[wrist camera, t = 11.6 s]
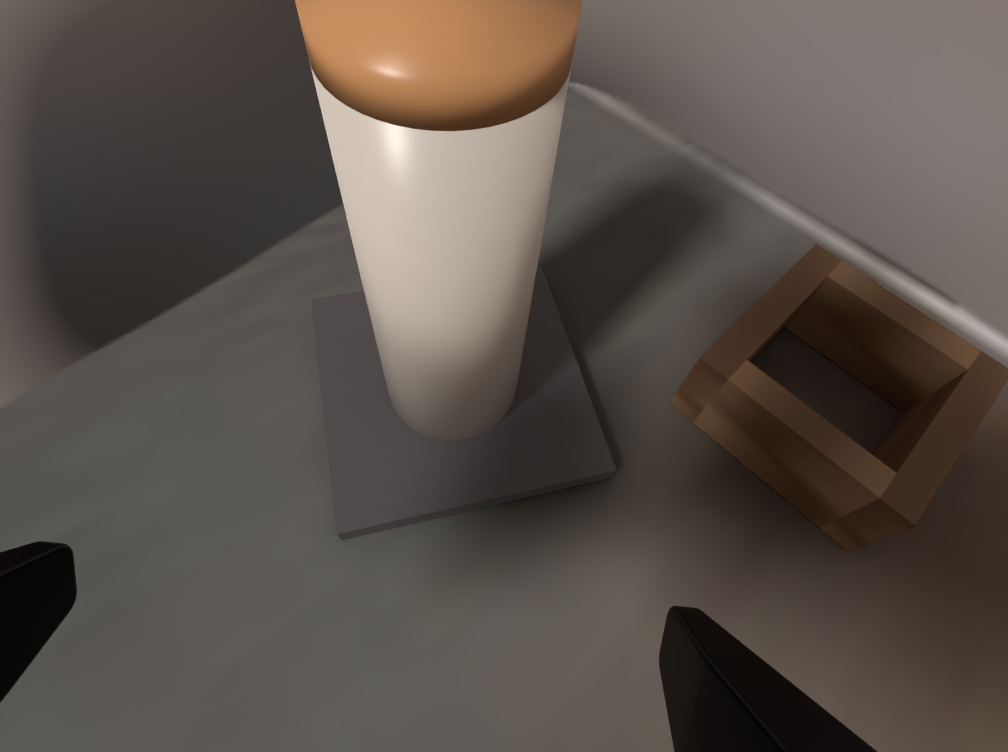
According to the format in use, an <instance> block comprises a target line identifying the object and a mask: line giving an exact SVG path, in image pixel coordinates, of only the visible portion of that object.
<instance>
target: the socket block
mask: <svg viewBox="0 0 1008 752" xmlns="http://www.w3.org/2000/svg"><path fill="white" fill-rule="evenodd" d="M784 327H785V328H786V329H788V330H789V331H791V332H792V333H793V334H795V335H796V336H797V337H799V338H800V339H802V340H803V341H804V342H806V343H807V344H809V345H810V346H811V347H813V348H814V349H816V350H817V351H818V352H820V353H821V354H823V355H824V356H825V357H827V358H828V359H830V360H831V361H832V362H834V363H835V364H836V365H838V366H839V367H841V368H842V369H843V370H845V371H846V372H848V373H849V374H850V375H852V376H853V377H855V378H856V379H857V380H859V381H860V382H862V383H863V384H864V385H866V386H867V387H869V388H870V389H871V390H873V391H874V392H876V393H877V394H878V395H880V396H881V397H882V398H884V399H885V400H887V401H888V402H889V403H891V404H892V405H894V406H895V407H896V408H898V409H899V410H901V411H902V412H903V414H902V415H901V417H900V418H899V419H898V421H897V422H896V424H895V425H894V426H893V428H892V429H891V430H890V432H889V433H888V435H887V436H886V437H885V439H884V440H883V441H882V443H881V444H880V446H879V447H878V448H877V450H876V451H875V452H874V454H873V455H872V454H871V453H869V452H868V451H867V450H865V449H864V448H863V447H861V446H860V445H859V444H858V443H856V442H855V441H854V440H852V439H851V438H850V437H848V436H847V435H846V434H844V433H843V432H842V431H840V430H839V429H838V428H836V427H835V426H834V425H832V424H831V423H830V422H829V421H827V420H826V419H825V418H823V417H822V416H821V415H819V414H818V413H817V412H815V411H814V410H813V409H811V408H810V407H809V406H807V405H806V404H805V403H803V402H802V401H801V400H799V399H798V398H797V397H796V396H794V395H793V394H792V393H790V392H789V391H788V390H786V389H785V388H784V387H782V386H781V385H780V384H778V383H777V382H776V381H774V380H773V379H772V378H770V377H769V376H768V375H766V374H765V373H764V372H763V371H761V370H760V369H759V368H757V367H756V366H755V365H753V364H752V363H751V361H752V360H753V359H754V358H755V357H756V356H757V355H758V354H759V353H760V352H761V351H762V350H763V349H764V348H765V347H766V346H767V345H768V344H769V342H770V341H771V340H772V339H773V338H774V337H775V336H776V335H777V334H778V333H779V332H780V331H781V330H782V329H783V328H784ZM1007 380H1008V368H1006V367H1005V366H1003V365H1002V364H1000V363H999V362H997V361H996V360H994V359H993V358H991V357H989V356H988V355H986V354H985V353H983V352H982V351H980V350H979V349H977V348H976V347H974V346H973V345H971V344H969V343H968V342H966V341H965V340H963V339H962V338H960V337H959V336H957V335H956V334H954V333H952V332H951V331H949V330H948V329H946V328H945V327H943V326H942V325H940V324H939V323H937V322H936V321H934V320H932V319H931V318H929V317H928V316H926V315H925V314H923V313H922V312H920V311H919V310H917V309H915V308H914V307H912V306H911V305H909V304H908V303H906V302H905V301H903V300H902V299H900V298H899V297H897V296H895V295H894V294H892V293H891V292H889V291H888V290H886V289H885V288H883V287H882V286H880V285H879V284H877V283H875V282H874V281H872V280H871V279H869V278H868V277H866V276H865V275H863V274H862V273H860V272H858V271H857V270H855V269H854V268H852V267H851V266H849V265H848V264H846V263H845V262H843V261H842V260H840V259H838V258H837V257H835V256H834V255H832V254H831V253H829V252H828V251H826V250H825V249H823V248H821V247H820V246H818V245H817V244H816V245H815V246H814V247H813V248H812V249H811V250H810V251H809V252H808V253H807V254H806V255H804V256H803V257H802V258H801V259H800V260H799V261H798V262H797V263H796V264H795V265H794V266H793V267H792V268H791V269H790V270H789V271H788V272H787V273H786V274H785V275H784V276H783V277H782V278H781V279H780V280H779V281H778V282H777V283H776V284H775V285H774V286H773V287H772V288H771V289H770V290H769V291H768V292H767V293H766V294H765V295H764V296H763V297H762V298H761V299H760V300H759V301H758V302H757V303H755V304H754V305H753V306H752V307H751V308H750V309H749V310H748V311H747V312H746V313H745V314H744V315H743V316H742V317H741V318H740V319H739V320H738V321H737V322H736V323H735V324H734V325H733V326H732V327H731V328H730V329H729V330H728V331H727V332H726V333H725V334H724V335H723V336H722V337H721V338H720V339H719V340H718V341H717V342H716V343H715V344H714V345H713V346H712V347H711V348H710V349H709V350H708V351H706V352H705V353H704V354H703V355H702V356H701V357H700V359H699V360H698V362H697V363H696V365H695V366H694V367H693V369H692V370H691V372H690V373H689V375H688V376H687V378H686V379H685V381H684V382H683V384H682V385H681V387H680V388H679V389H678V391H677V392H676V394H675V395H674V397H673V398H672V400H671V401H670V404H671V405H672V406H673V407H675V408H676V409H677V410H678V411H679V412H681V413H682V414H683V415H684V416H686V417H687V418H688V419H689V420H690V421H692V422H693V423H694V424H695V425H696V426H698V427H699V428H700V429H701V430H702V431H704V432H705V433H706V434H707V435H708V436H710V437H711V438H712V439H713V440H714V441H716V442H717V443H718V444H719V445H720V446H722V447H723V448H724V449H725V450H726V451H728V452H729V453H730V454H731V455H732V456H734V457H735V458H736V459H737V460H738V461H740V462H741V463H742V464H743V465H744V466H746V467H747V468H748V469H749V470H750V471H752V472H753V473H754V474H755V475H756V476H758V477H759V478H760V479H761V480H762V481H764V482H765V483H766V484H767V485H769V486H770V487H771V488H772V489H773V490H775V491H776V492H777V493H778V494H779V495H781V496H782V497H783V498H784V499H785V500H787V501H788V502H789V503H790V504H791V505H793V506H794V507H795V508H796V509H797V510H799V511H800V512H801V513H802V514H803V515H805V516H806V517H807V518H808V519H809V520H811V521H812V522H813V523H814V524H815V525H817V526H818V527H819V528H820V529H821V530H823V531H824V532H825V533H826V534H827V535H829V536H830V537H831V538H832V539H833V540H835V541H836V542H837V543H838V544H839V545H841V546H842V547H843V548H844V549H845V550H847V551H848V552H850V551H853V550H855V549H858V548H860V547H863V546H865V545H868V544H870V543H873V542H875V541H878V540H880V539H883V538H885V537H888V536H890V535H893V534H895V533H898V532H900V531H903V530H905V529H908V528H910V527H913V526H915V525H916V524H917V522H918V520H919V519H920V517H921V516H922V514H923V513H924V511H925V509H926V508H927V506H928V505H929V503H930V501H931V500H932V498H933V497H934V495H935V494H936V492H937V490H938V489H939V487H940V486H941V484H942V483H943V481H944V479H945V478H946V476H947V475H948V473H949V472H950V470H951V468H952V467H953V465H954V464H955V462H956V460H957V459H958V457H959V456H960V454H961V453H962V451H963V449H964V448H965V446H966V445H967V443H968V442H969V440H970V438H971V437H972V435H973V434H974V432H975V431H976V429H977V427H978V426H979V424H980V423H981V421H982V419H983V418H984V416H985V415H986V413H987V412H988V410H989V408H990V407H991V405H992V404H993V402H994V401H995V399H996V397H997V396H998V394H999V393H1000V391H1001V390H1002V388H1003V386H1004V385H1005V383H1006V382H1007Z"/></svg>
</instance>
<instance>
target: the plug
mask: <svg viewBox="0 0 1008 752" xmlns="http://www.w3.org/2000/svg"><path fill="white" fill-rule="evenodd" d="M295 2H296V6H297V10H298V14H299V18H300V23H301V27H302V31H303V35H304V40H305V44H306V48H307V52H308V57H309V60H310V65H311V69H312V73H313V78H314V82H315V86H316V90H317V94H318V99H319V103H320V107H321V111H322V115H323V119H324V124H325V128H326V132H327V136H328V141H329V145H330V149H331V153H332V157H333V162H334V166H335V170H336V175H337V178H338V183H339V187H340V191H341V196H342V199H343V204H344V208H345V212H346V217H347V221H348V225H349V229H350V233H351V238H352V242H353V246H354V250H355V255H356V259H357V263H358V267H359V271H360V276H361V280H362V284H363V288H364V292H365V297H366V301H367V305H368V309H369V314H370V318H371V322H372V326H373V330H374V335H375V339H376V343H377V347H378V351H379V356H380V360H381V364H382V368H383V373H384V377H385V381H386V385H387V389H388V394H389V397H390V401H391V403H392V406H393V408H394V409H395V411H396V413H397V414H398V415H399V417H400V418H401V419H402V420H403V421H404V422H405V423H406V424H407V425H408V426H410V427H411V428H413V429H414V430H416V431H418V432H420V433H422V434H424V435H427V436H430V437H433V438H438V439H446V440H458V439H465V438H470V437H473V436H476V435H479V434H481V433H483V432H485V431H487V430H489V429H491V428H492V427H493V426H495V425H496V424H497V423H498V422H499V421H500V420H501V419H502V418H503V417H504V416H505V415H506V413H507V412H508V410H509V409H510V407H511V405H512V403H513V400H514V397H515V393H516V388H517V382H518V376H519V370H520V365H521V359H522V353H523V347H524V341H525V335H526V329H527V323H528V318H529V312H530V306H531V300H532V294H533V288H534V282H535V277H536V271H537V265H538V259H539V253H540V247H541V241H542V235H543V230H544V224H545V218H546V212H547V206H548V200H549V194H550V188H551V183H552V177H553V171H554V165H555V159H556V153H557V147H558V141H559V136H560V130H561V124H562V118H563V112H564V106H565V100H566V94H567V89H568V83H569V77H570V71H571V65H572V59H573V53H574V47H575V42H576V35H577V29H578V24H579V18H580V12H581V0H295Z"/></svg>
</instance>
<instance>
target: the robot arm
mask: <svg viewBox="0 0 1008 752" xmlns="http://www.w3.org/2000/svg"><path fill="white" fill-rule="evenodd" d="M76 595H77V587H76V577H75V566H74V556H73V551H72V549H71V548H70V546H68V545H66V544H63V543H53V542H44V541H40V542H34V543H30V544H27V545H24V546H20V547H17V548H14V549H10V550H7V551H4V552H0V702H1V701H2V700H3V699H4V697H5V696H6V695H7V694H8V692H9V691H10V690H11V688H12V687H13V686H14V685H15V683H16V682H17V681H18V679H19V678H20V677H21V675H22V674H23V673H24V671H25V670H26V669H27V667H28V666H29V665H30V663H31V662H32V661H33V659H34V658H35V657H36V655H37V654H38V653H39V651H40V650H41V649H42V647H43V646H44V645H45V643H46V642H47V641H48V639H49V638H50V637H51V636H52V634H53V633H54V632H55V630H56V629H57V628H58V626H59V625H60V624H61V622H62V621H63V620H64V618H65V617H66V616H67V614H68V613H69V612H70V610H71V609H72V607H73V605H74V602H75V599H76ZM659 666H660V673H661V679H662V684H663V690H664V696H665V701H666V707H667V713H668V718H669V724H670V729H671V735H672V741H673V746H674V752H877V751H876V750H875V749H873V748H872V747H871V746H870V745H868V744H867V743H866V742H865V741H863V740H862V739H861V738H860V737H858V736H857V735H856V734H855V733H853V732H852V731H851V730H850V729H848V728H847V727H846V726H845V725H843V724H842V723H841V722H840V721H838V720H837V719H836V718H835V717H833V716H832V715H831V714H830V713H828V712H827V711H826V710H825V709H823V708H822V707H821V706H820V705H818V704H817V703H816V702H815V701H813V700H812V699H811V698H810V697H808V696H807V695H806V694H805V693H803V692H802V691H801V690H800V689H798V688H797V687H796V686H795V685H793V684H792V683H791V682H790V681H788V680H787V679H786V678H785V677H783V676H782V675H781V674H780V673H778V672H777V671H776V670H775V669H773V668H772V667H771V666H770V665H768V664H767V663H766V662H765V661H764V660H762V659H761V658H760V657H759V656H757V655H756V654H755V653H754V652H752V651H751V650H750V649H749V648H747V647H746V646H745V645H744V644H742V643H741V642H740V641H739V640H737V639H736V638H735V637H734V636H732V635H731V634H730V633H729V632H727V631H726V630H725V629H724V628H722V627H721V626H720V625H719V624H717V623H716V622H715V621H714V620H712V619H711V618H710V617H709V616H707V615H706V614H705V613H704V612H702V611H701V610H700V609H697V608H692V607H681V606H673V607H671V608H670V609H669V611H668V614H667V618H666V623H665V628H664V633H663V638H662V643H661V647H660V653H659Z"/></svg>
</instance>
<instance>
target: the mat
mask: <svg viewBox="0 0 1008 752" xmlns="http://www.w3.org/2000/svg"><path fill="white" fill-rule="evenodd" d="M312 308H313V317H314V326H315V335H316V344H317V354H318V363H319V372H320V381H321V390H322V399H323V409H324V418H325V427H326V436H327V445H328V454H329V463H330V473H331V482H332V491H333V500H334V509H335V518H336V528H337V534H338V536H339V537H340V538H341V540H344V539H348V538H353V537H357V536H361V535H366V534H370V533H374V532H379V531H383V530H387V529H392V528H396V527H400V526H405V525H409V524H414V523H418V522H422V521H427V520H431V519H435V518H440V517H444V516H448V515H453V514H457V513H461V512H466V511H470V510H475V509H479V508H483V507H488V506H492V505H496V504H501V503H505V502H509V501H514V500H518V499H523V498H527V497H531V496H536V495H540V494H544V493H549V492H553V491H557V490H562V489H566V488H570V487H575V486H579V485H584V484H588V483H592V482H597V481H601V480H605V479H610V478H612V477H613V476H614V474H615V473H616V471H617V469H616V466H615V464H614V461H613V458H612V456H611V453H610V450H609V447H608V445H607V442H606V439H605V436H604V434H603V431H602V428H601V426H600V423H599V420H598V417H597V415H596V412H595V409H594V407H593V404H592V401H591V398H590V396H589V393H588V390H587V387H586V385H585V382H584V379H583V377H582V374H581V371H580V368H579V366H578V363H577V360H576V358H575V355H574V352H573V349H572V347H571V344H570V341H569V338H568V336H567V333H566V330H565V328H564V325H563V322H562V319H561V317H560V314H559V311H558V309H557V306H556V303H555V300H554V298H553V295H552V292H551V289H550V287H549V284H548V281H547V279H546V276H545V273H544V270H543V268H542V265H541V264H538V265H537V271H536V277H535V282H534V288H533V294H532V300H531V306H530V312H529V318H528V323H527V329H526V335H525V341H524V347H523V353H522V359H521V365H520V370H519V376H518V382H517V388H516V393H515V397H514V400H513V403H512V405H511V407H510V409H509V410H508V412H507V413H506V415H505V416H504V417H503V418H502V419H501V420H500V421H499V422H498V423H497V424H496V425H495V426H493V427H492V428H491V429H489V430H487V431H485V432H483V433H481V434H479V435H476V436H473V437H470V438H465V439H458V440H446V439H438V438H433V437H430V436H427V435H424V434H422V433H420V432H418V431H416V430H414V429H413V428H411V427H410V426H408V425H407V424H406V423H405V422H404V421H403V420H402V419H401V418H400V417H399V415H398V414H397V413H396V411H395V409H394V408H393V406H392V403H391V401H390V397H389V394H388V389H387V385H386V381H385V377H384V373H383V368H382V364H381V360H380V356H379V351H378V347H377V343H376V339H375V335H374V330H373V326H372V322H371V318H370V314H369V309H368V305H367V301H366V297H365V292H364V291H362V292H355V293H349V294H342V295H336V296H329V297H323V298H316V299H312Z"/></svg>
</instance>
